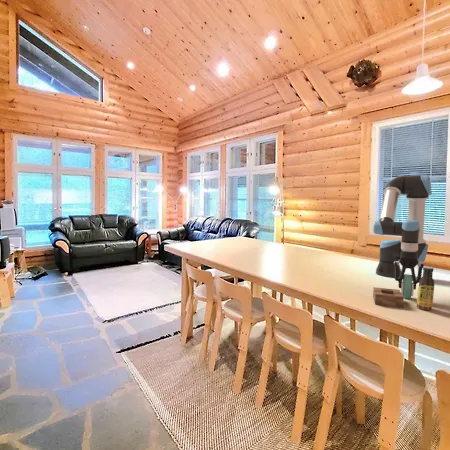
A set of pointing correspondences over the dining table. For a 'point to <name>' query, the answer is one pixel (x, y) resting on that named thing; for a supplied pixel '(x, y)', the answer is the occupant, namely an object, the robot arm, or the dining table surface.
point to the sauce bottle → (426, 290)
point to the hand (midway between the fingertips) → (406, 294)
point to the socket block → (388, 297)
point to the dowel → (407, 286)
